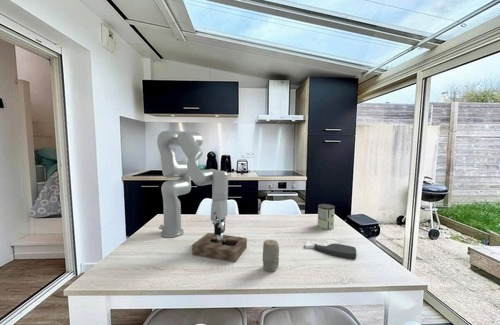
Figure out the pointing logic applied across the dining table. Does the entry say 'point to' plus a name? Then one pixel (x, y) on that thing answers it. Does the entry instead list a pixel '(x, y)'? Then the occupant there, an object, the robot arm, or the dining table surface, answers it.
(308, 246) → the spray bottle
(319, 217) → the coffee can
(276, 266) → the carving
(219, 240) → the keyhole peg
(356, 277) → the dining table surface
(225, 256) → the keyhole board
